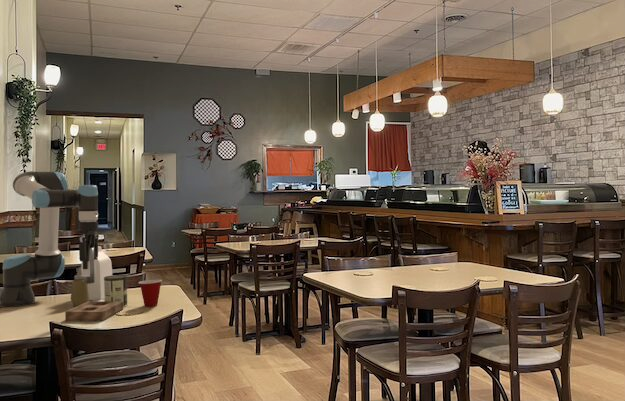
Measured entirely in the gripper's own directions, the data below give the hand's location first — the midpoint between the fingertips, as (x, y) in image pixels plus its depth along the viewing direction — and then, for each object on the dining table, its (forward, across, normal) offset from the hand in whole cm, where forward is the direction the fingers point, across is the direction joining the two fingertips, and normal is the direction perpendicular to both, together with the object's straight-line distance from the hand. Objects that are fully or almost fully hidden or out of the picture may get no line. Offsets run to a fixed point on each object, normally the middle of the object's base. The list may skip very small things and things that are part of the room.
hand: (89, 275), depth 218 cm
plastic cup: (+19, +25, -17) cm, 35 cm away
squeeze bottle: (+19, +24, +17) cm, 35 cm away
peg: (+3, 0, 0) cm, 3 cm away
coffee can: (+19, +23, -1) cm, 30 cm away
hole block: (+18, +5, 0) cm, 19 cm away
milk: (+19, +43, +18) cm, 50 cm away
